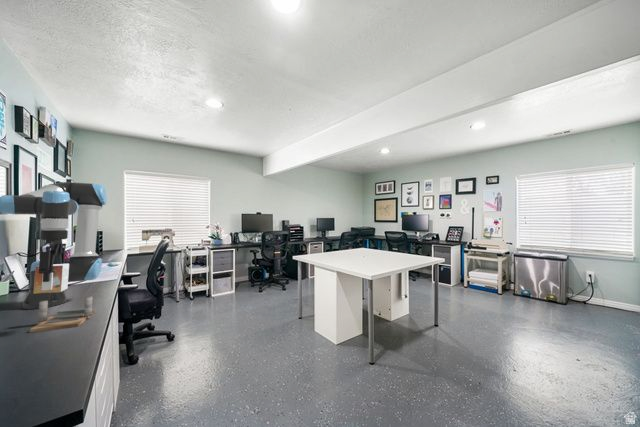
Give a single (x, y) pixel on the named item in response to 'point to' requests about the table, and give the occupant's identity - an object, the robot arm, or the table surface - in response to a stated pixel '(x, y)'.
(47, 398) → the table surface
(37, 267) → the small box
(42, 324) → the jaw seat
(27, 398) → the table surface
